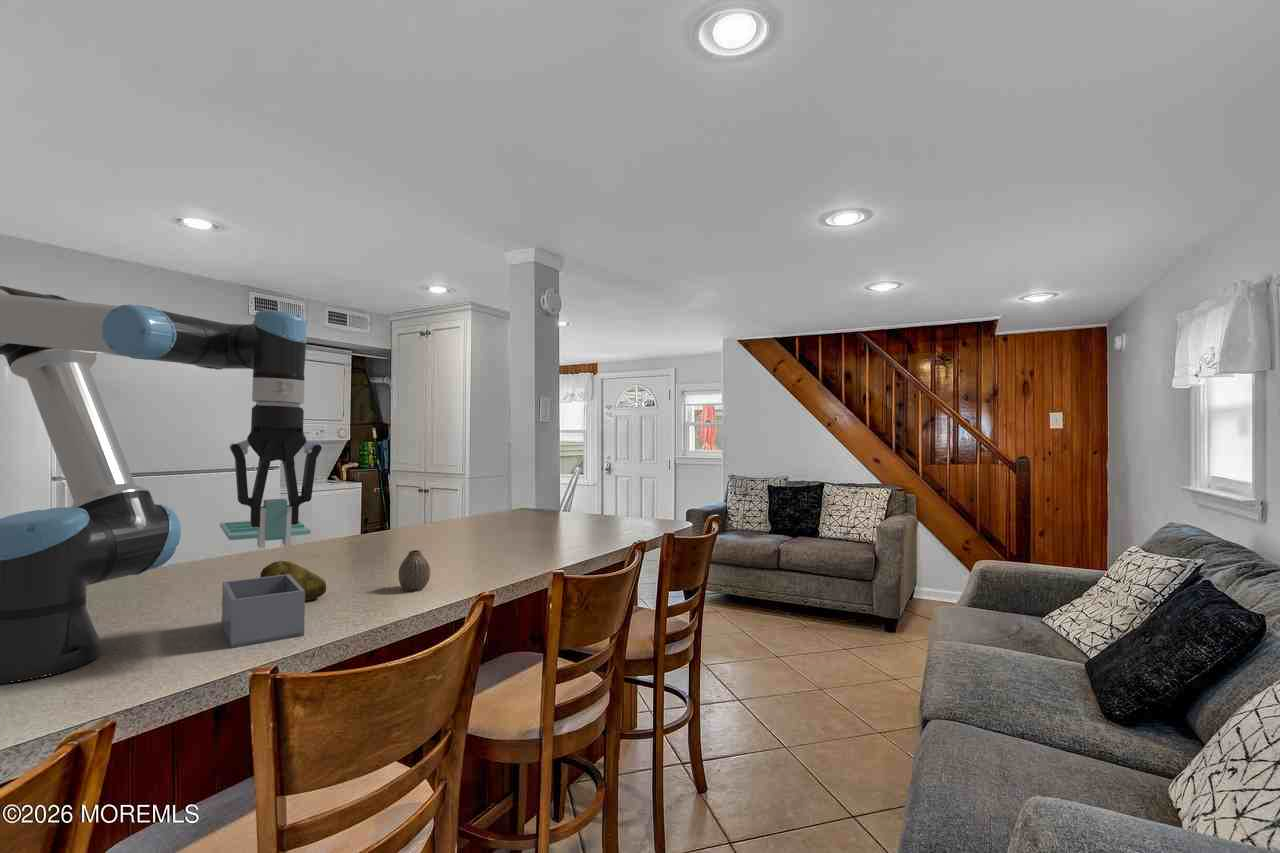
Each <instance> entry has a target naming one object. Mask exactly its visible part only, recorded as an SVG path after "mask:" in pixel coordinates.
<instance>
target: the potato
mask: <svg viewBox="0 0 1280 853" xmlns="http://www.w3.org/2000/svg"><path fill="white" fill-rule="evenodd" d="M287 574H290V575H291V576H292V577H293V578H294V580H295V581H296V582H297V583H298V584H299V585H300V586H301V587H302V588H303V589H304V590H305V602H306V601H311V600H317V599H318V598H320V597H321V596H323V595H324V594H325V593H326V592H327V583H326V581H325V579H323V577H321V576H319V575H318V574H316V573H314V572H311V571H310V570H308V569H306V568H304V567H302V566H299V565H298V564H296V563H294V562H292V561H287V560H279V561H273V562H271V563H270V564H268V565H266V566H265V567H263V569H262V570H261V572H260V577H259V578H261V577H270V576H278V575H287Z"/></svg>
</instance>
